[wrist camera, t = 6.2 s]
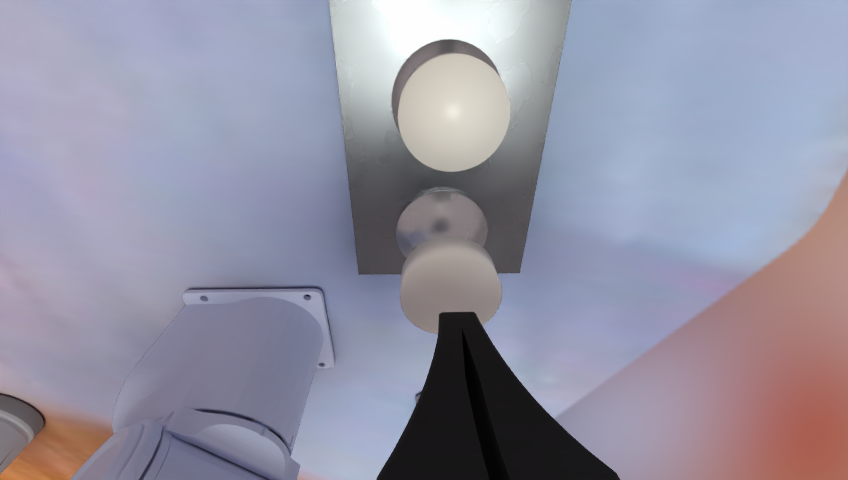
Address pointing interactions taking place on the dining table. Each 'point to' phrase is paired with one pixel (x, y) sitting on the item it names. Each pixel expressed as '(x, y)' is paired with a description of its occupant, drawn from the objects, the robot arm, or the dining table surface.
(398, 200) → the mount
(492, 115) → the knob middle
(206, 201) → the dining table surface
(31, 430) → the travel mug
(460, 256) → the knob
